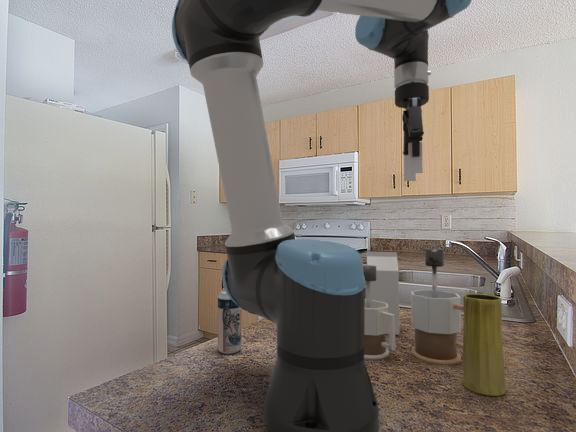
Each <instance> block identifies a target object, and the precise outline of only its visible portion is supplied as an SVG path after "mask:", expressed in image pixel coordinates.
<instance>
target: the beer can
mask: <svg viewBox="0 0 576 432" xmlns="http://www.w3.org/2000/svg"><path fill="white" fill-rule="evenodd" d="M242 310H243V309H241V308H240V307H239V306H238V305H237V304H235V303H234V302H233V301H232V300H231V299H230V298H229V296H228V295H227V293H226V291H225V290H222V291H219V294H218V296H217V351H218V352H219V353H221V354H225V355H233V354H236V353H238V352H239V351H240V350H242V321H243V320H242Z"/></svg>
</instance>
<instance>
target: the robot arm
mask: <svg viewBox="0 0 576 432" xmlns="http://www.w3.org/2000/svg"><path fill="white" fill-rule="evenodd" d="M471 3H472V0H177V2H176V5H175V9H174V12H173V16H172V20H171V35H172V38H173V43H174V45H175V48H176V50H177V52H178V54H179V55H180V57H181V58H182V59H183V60H185V61H186V62H187V64H188V66H189V67H188V68H189V72H190V75H191V77H192V78H194V79H195V80H196V81H197V82H199V83H201V84H202V88H203V91H204V96H205V101H206V106H207V107H206V108H207V111H208V116H209V123H210V127H211V132H212V137H213V142H214V147H215V152H216V156H217V158H216V159H217V161H218V162H217V163H218V168H219V173H220V177H221V178H220V179H221V183H222V187H223V192H224V197H225V203H226V207H227V213H228V217H229V222H230V223H229V224H230V228H231V231H230V232H231V233H230V234H229V236H228V237H227V239H226V240H225V241H224V246H225V250H226V260H225V262H224V263H223V266H222V270H221V278H222V280H221V281H222V284H223V285H222V286H223V288H224V291H226V293H227V295H228V296H229V298H230V299H231V300H232V301H233V302H234V303H235V304H237V305H238V306H239V307H240V308H241V309H242V310H243V311H245V312H247V313H249V314H252V315H256V316H258V317H260V318H263V319H265V320H268V321H270V322H272V323H273V324H274V323H275V324H276V346H277V348H276V361H275V364H274V367H273V371H272V373H271V377H270V381H269V383H268V388H267V390H266V393H265V395H264V401H263V422H264V426H265V427H266V429H267V431H268V432H378V431H379V429H380V428H379V427H380V421H379V420H380V414H379V413H380V411H379V409H380V408H379V402H378V400H377V397H376V395H375V391H374V388H373V384H372V381H371V378H370V375H369V370H367V366H366V361H365V359H364V313H365V300H366V281H365V277H364V274H363V265H364V262H363V257H362V255H361V253H360V252H359V251H358V250H357V249H356V248H354V247H352V246H350V245H348V244H345V243H341V242H335V241H329V240H328V241H327V240H320V239H309V238H308V239H306V238H305V239H304V238H302V239H301V238H299V239H296V237H295V232H294V229H293V228H292V227H291V226H289V225H288V224H286V223H285V222H284V220H283V216H282V210H281V206H280V199H279V195H278V194H279V193H278V188H277V182H276V179H275V172H274V166H273V162H272V161H273V160H272V156H271V151H270V145H269V139H268V134H267V129H266V123H265V117H264V112H263V111H264V110H263V107H262V106H263V105H262V102H261V96H260V90H259V86H258V79H257V76H258V75H259V73H260V72H261V69H262V68H263V67H264V59H263V53H262V47H261V42H260V37H261V36H262V35H264V33H265V32H266V31H267V30H268V29H270V27H271V26H272V25H274V24H275V23H277V22H279V21H281V20H283V19H286V18H290V17H297V16H298V17H310V16H312V15H314V14H315V13H316V12H317V11H321V12H329V13H336V14H337V13H338V14H343V15H344V14H345V15H353V16H359V17H358V18H357V22H356V24H355V28H354V29H355V32H354V34H355V35H354V36H355V39H356V42H357V43H358V44H359V45H361V46H363V47H365V48H367V49H368V50H369V51H373V52H376V53H379V54H382V55H384V56H387V57H388V58H391V59H393V60H394V62H393V64H394V71H393V75H394V76H393V77H394V79H393V80H394V81H393V82H394V86H393V87H394V89H395V90H394V105H395V106H396V107H397V108H400V109H405V110H403V111H402V112H403V113H402V122H403V123H402V131H403V151H402V155H403V182H414V181H415V182H416V180H417V179H416V174H422V173H424V172H423V169H424V168H423V136H424V133H425V132H424V126H423V115H422V114H423V113H422V112H423V111H422V106H425V105H426V104H427V103H428V102H429V100H430V93H429V92H430V89H429V87H430V86H429V76H431V75H432V71H431V70H429V37H430V35H429V30H430V29H431V28H433V27H435V26H437V25H439V24H441V23H443V22H445V21H447V20H449V19H451V18H454V16H456V15H457V14H459V13H460V12H463V11H464V10H465V9H467V8H468V7H469V6H470V5H471Z"/></svg>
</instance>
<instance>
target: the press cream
mask: <svg viewBox="0 0 576 432" xmlns="http://www.w3.org/2000/svg"><path fill="white" fill-rule="evenodd" d="M363 274H364V277H365V313H364V360H371V361H372V360H373V361H374V360H375V361H376V360H378V361H379V360H383V359H385V358H388V357H389V356H390V350H391V351H395V350H396V335H395V315H394V314H390V313H388V303H384V302H380V301H375V300H371V281H376V266H373V265H367V264H363ZM388 318H389V332H388ZM386 333H389V334H388V342H387V339H386V337H387V336H386V335H387V334H386Z"/></svg>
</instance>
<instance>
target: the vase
mask: <svg viewBox="0 0 576 432" xmlns="http://www.w3.org/2000/svg"><path fill="white" fill-rule="evenodd" d="M463 306H464V311H463V324H462V325H463V328H462V329H463V331H462V332H463V334H462V335H463V337H462V339H463V341H462V343H463V349H462V371H463V372H462V379H461V384H462V386H463V387H465V388H466V389H467V390H469V391H471V392H473V393H476V394H478V395H482V396H483V395H484V396H488V397H499V396H503V395H505V394H506V392H507V386H506V378H505V377H506V376H505V364H504V363H505V362H504V347H503V324H502V322H503V321H502V320H503V319H502V316H503V314H502V297H501V296H497V295H494V294H493V295H492V294H487V293H486V294H485V293H477V292H476V293H471V292H470V293H465V294H464V295H463Z"/></svg>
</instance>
